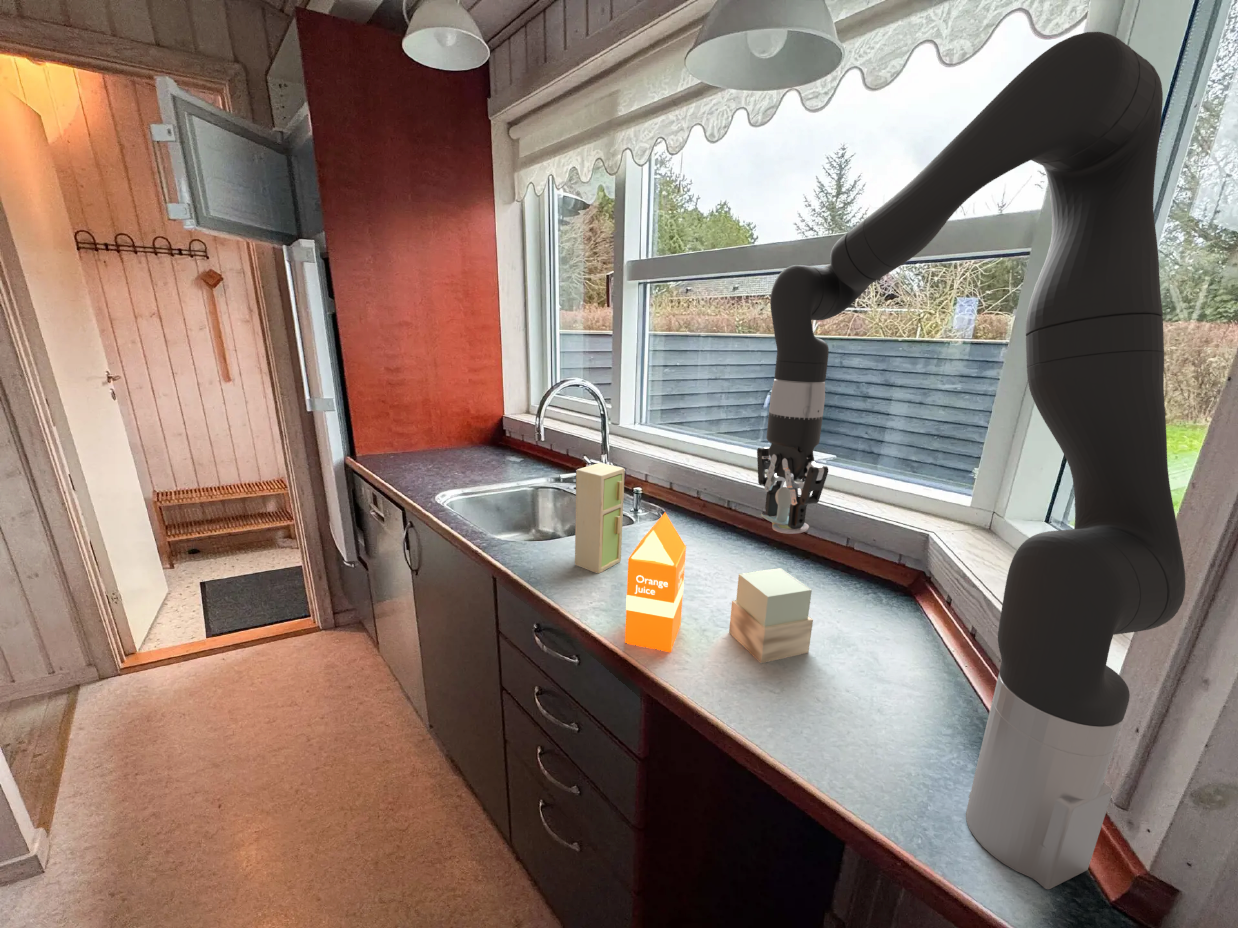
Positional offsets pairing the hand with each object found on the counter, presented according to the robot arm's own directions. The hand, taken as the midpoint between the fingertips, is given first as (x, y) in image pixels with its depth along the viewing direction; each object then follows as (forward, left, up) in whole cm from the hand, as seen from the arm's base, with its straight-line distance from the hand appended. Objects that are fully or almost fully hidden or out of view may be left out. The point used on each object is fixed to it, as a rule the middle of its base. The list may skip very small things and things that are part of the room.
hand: (783, 520), depth 83 cm
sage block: (0, 0, -15) cm, 15 cm away
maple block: (0, 0, -21) cm, 21 cm away
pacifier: (-1, 0, -1) cm, 1 cm away
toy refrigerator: (+36, +17, -21) cm, 45 cm away
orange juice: (+8, +17, -21) cm, 28 cm away
